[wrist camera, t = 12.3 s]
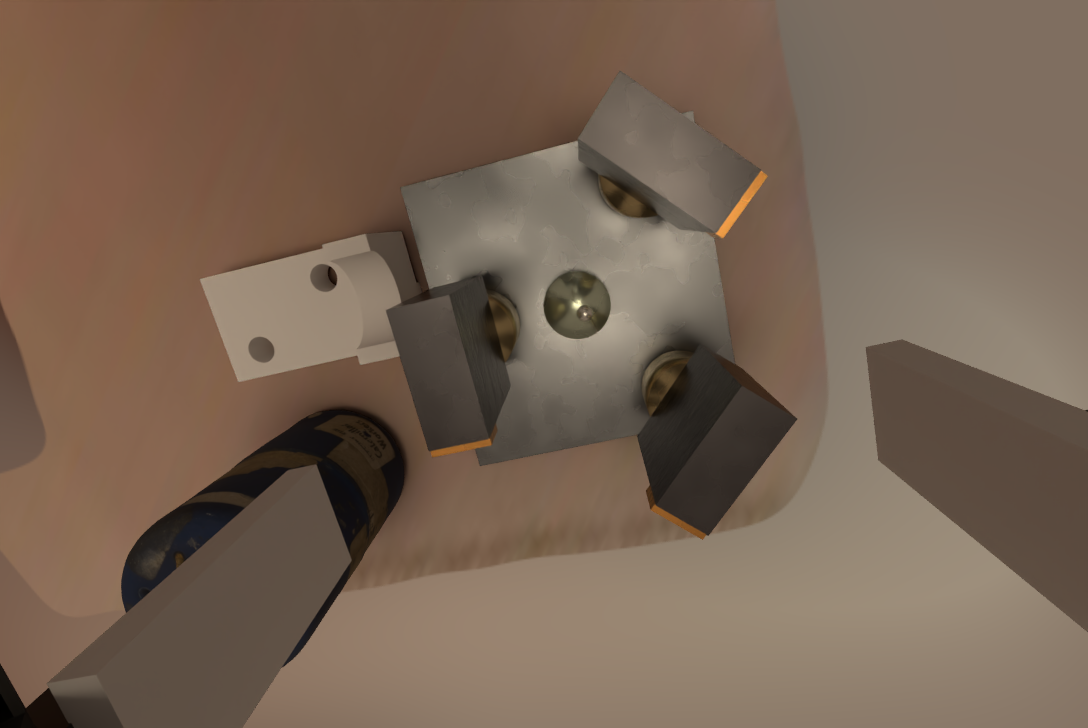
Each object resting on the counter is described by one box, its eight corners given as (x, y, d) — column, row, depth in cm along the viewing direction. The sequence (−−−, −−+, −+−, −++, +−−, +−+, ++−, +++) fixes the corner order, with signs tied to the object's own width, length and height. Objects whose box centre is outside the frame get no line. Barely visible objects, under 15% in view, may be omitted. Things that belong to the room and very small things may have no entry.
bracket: (405, 230, 39) (365, 233, 31) (434, 330, 40) (402, 355, 33) (232, 273, 40) (154, 286, 33) (266, 368, 42) (200, 400, 34)
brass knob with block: (676, 323, 38) (723, 374, 25) (739, 361, 38) (815, 429, 26) (616, 413, 39) (633, 501, 27) (677, 449, 40) (720, 551, 28)
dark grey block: (569, 180, 36) (564, 159, 24) (614, 107, 35) (634, 46, 22) (665, 245, 36) (709, 258, 24) (713, 176, 35) (785, 153, 23)
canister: (298, 521, 44) (116, 715, 27) (276, 405, 42) (62, 537, 25) (417, 517, 44) (311, 715, 26) (402, 400, 41) (273, 531, 24)
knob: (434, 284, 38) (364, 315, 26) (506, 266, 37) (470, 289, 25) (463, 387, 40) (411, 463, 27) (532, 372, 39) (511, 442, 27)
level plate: (403, 188, 38) (393, 186, 36) (690, 112, 35) (697, 106, 33) (481, 461, 42) (476, 474, 40) (740, 409, 40) (749, 420, 38)
